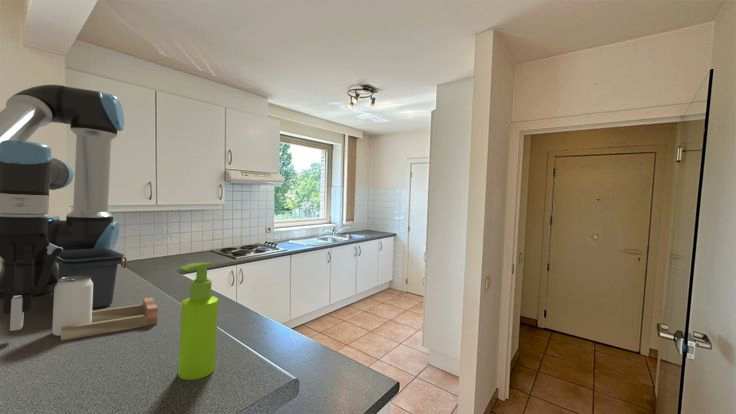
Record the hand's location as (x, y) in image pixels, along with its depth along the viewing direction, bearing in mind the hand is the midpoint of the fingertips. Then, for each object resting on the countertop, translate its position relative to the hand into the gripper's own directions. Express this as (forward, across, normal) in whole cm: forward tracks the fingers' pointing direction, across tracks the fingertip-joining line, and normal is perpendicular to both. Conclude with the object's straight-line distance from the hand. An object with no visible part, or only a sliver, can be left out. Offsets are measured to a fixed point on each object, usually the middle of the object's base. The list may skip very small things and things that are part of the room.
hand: (16, 327), depth 65 cm
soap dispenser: (+3, +26, -34) cm, 43 cm away
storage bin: (+3, +11, +24) cm, 27 cm away
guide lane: (+3, +15, 0) cm, 15 cm away
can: (+3, +8, 0) cm, 9 cm away
